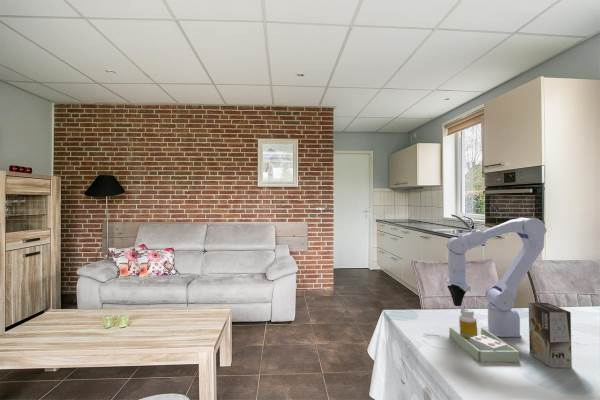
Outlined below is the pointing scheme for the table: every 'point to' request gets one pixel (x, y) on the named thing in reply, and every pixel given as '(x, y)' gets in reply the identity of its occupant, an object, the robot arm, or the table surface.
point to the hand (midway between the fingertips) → (457, 305)
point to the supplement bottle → (467, 324)
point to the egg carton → (487, 343)
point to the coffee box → (550, 334)
